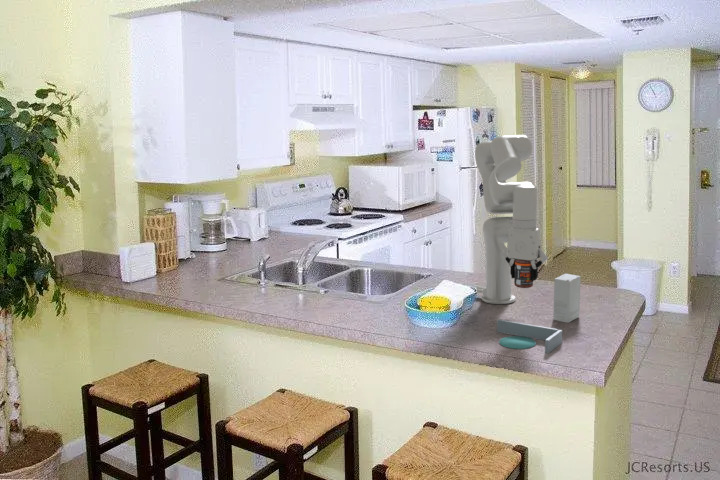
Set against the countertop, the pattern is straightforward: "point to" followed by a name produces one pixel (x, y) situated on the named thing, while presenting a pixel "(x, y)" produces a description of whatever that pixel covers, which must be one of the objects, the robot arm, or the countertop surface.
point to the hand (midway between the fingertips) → (523, 278)
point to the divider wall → (532, 332)
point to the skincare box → (566, 297)
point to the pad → (517, 342)
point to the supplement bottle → (523, 274)
